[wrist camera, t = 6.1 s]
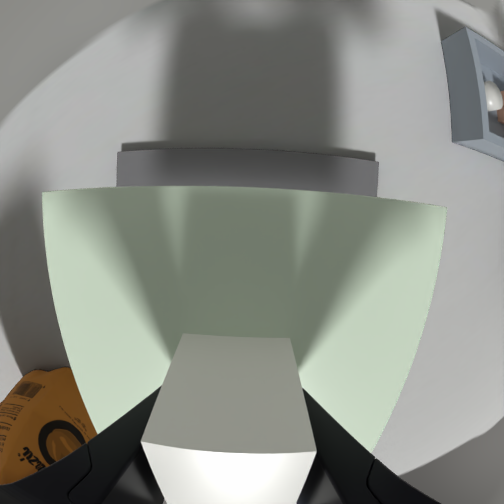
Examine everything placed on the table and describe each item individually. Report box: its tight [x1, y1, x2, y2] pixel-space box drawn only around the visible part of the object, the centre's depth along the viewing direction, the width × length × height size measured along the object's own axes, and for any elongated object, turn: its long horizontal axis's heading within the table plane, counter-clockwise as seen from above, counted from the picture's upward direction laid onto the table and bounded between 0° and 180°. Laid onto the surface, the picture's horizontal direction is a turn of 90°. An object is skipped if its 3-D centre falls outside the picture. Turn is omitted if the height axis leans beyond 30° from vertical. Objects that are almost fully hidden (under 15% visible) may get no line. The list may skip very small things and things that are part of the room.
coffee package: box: [0, 367, 97, 485], centre depth 13 cm, size 10×12×22 cm
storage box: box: [441, 27, 504, 161], centre depth 15 cm, size 11×10×4 cm
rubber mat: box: [117, 148, 379, 197], centre depth 20 cm, size 18×16×1 cm
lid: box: [42, 186, 447, 504], centre depth 7 cm, size 12×11×6 cm
